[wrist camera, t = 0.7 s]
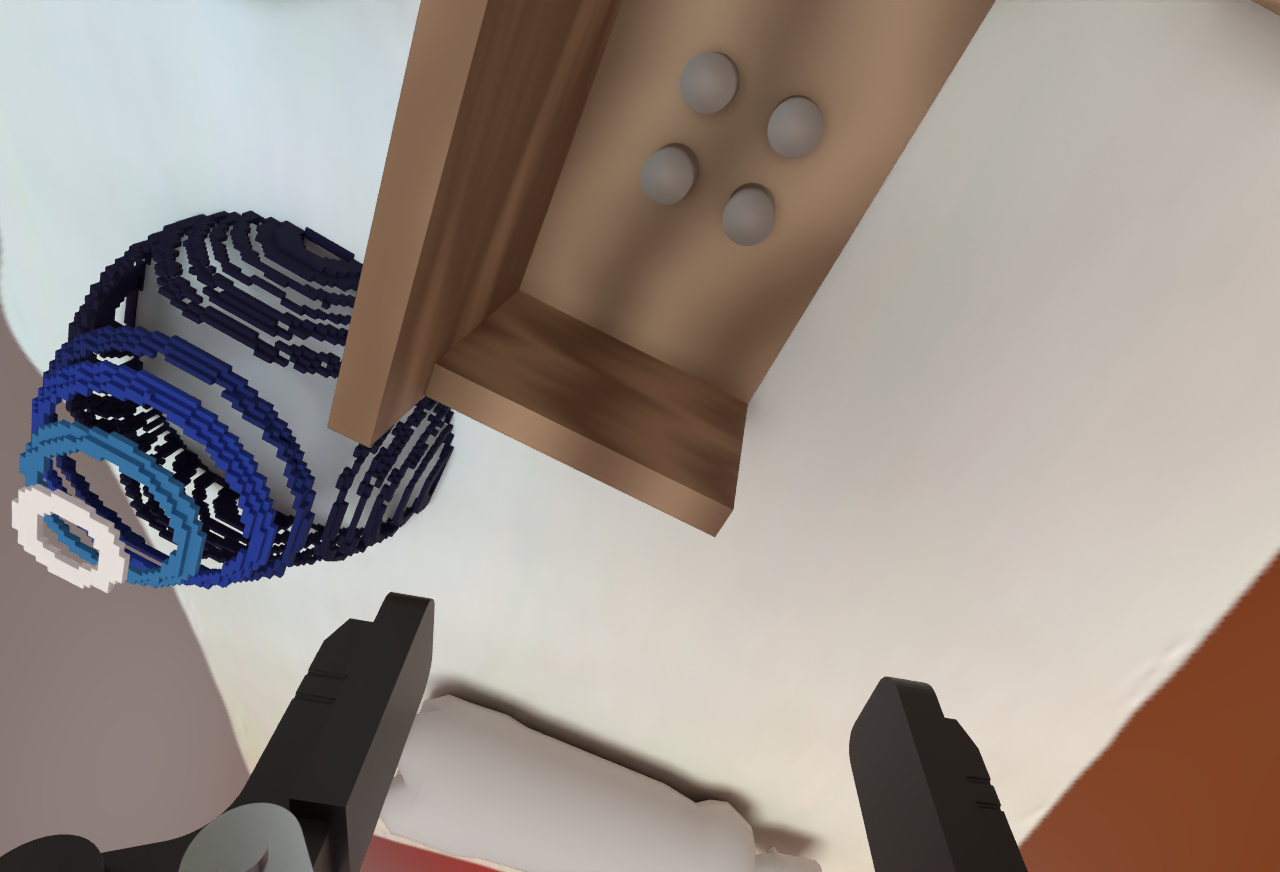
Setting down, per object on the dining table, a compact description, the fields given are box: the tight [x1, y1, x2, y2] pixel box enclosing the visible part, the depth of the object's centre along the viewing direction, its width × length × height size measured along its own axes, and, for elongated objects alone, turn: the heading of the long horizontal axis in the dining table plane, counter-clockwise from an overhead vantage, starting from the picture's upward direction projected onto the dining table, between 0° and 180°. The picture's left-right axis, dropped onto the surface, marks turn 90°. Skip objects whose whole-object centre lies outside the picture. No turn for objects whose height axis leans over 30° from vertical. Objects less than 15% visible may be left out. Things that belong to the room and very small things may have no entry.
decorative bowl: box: [12, 211, 454, 593], centre depth 34 cm, size 20×20×14 cm
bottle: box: [380, 695, 822, 872], centre depth 48 cm, size 9×9×30 cm
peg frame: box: [327, 0, 995, 537], centre depth 23 cm, size 14×23×14 cm, turn 156°
